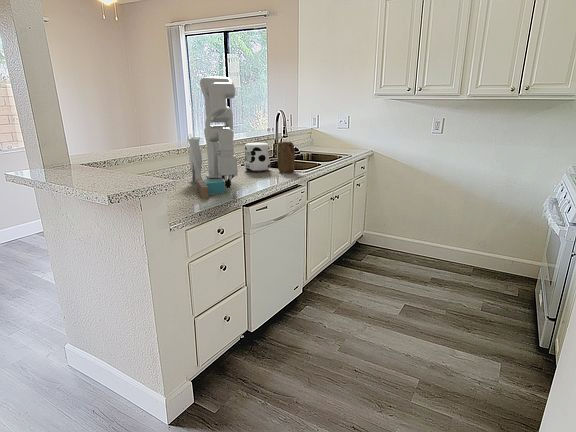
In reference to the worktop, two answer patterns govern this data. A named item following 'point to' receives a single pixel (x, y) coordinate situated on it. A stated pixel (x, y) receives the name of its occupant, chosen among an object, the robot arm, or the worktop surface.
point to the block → (286, 157)
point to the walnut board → (202, 188)
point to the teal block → (215, 186)
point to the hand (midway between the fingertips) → (228, 187)
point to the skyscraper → (195, 159)
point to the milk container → (257, 157)
